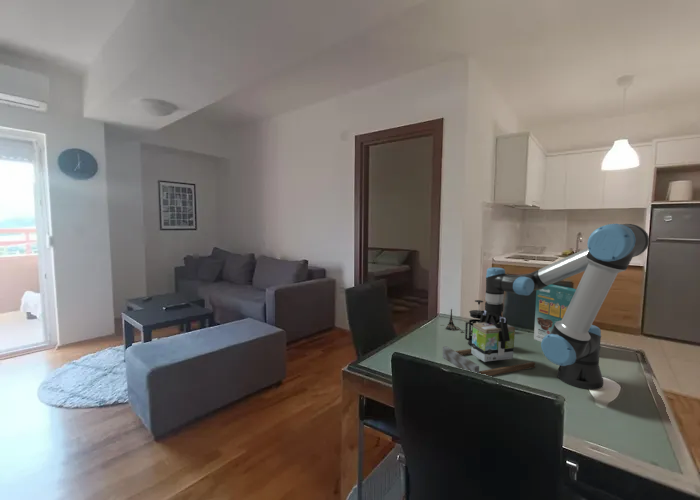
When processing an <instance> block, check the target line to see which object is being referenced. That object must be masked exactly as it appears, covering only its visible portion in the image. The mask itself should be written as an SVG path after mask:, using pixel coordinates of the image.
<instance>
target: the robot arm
mask: <svg viewBox="0 0 700 500" xmlns="http://www.w3.org/2000/svg"><path fill="white" fill-rule="evenodd" d="M649 244H650V236H649V234H648V232H647V231H646V230H645V229H644V228H642V227H641V226H639V225H637V224H634V223H633V224H632V223H610V224H609V223H608V224H605V225H602V226H600V227H598V228H596V229H594V230H593V231H592V232H591V233H590V235H589V237H588V239H587V245H586V246H587V247H586V248H584V249H582V250H580V251H578V252H576V253H575V252H574V253H573V254H570V255H569V256H567V257H564V258H562V259H559V260H558V261H555V262H553V263H550V264H548V265H546V266H544V267H541V268H539V269H537V270H535V271H532V272H530V273H524V274H518V275H515V274H508V273H506V269H505V268H502V267H496V266H495V267H494V266H493V267H492V266H491V267H488V268H486V275H485V297H484V299H485V300H484V301H485V303H484V310H481V318H480V319H479V320H480V321H479V323H484V322H485V323H491V322H492V323H493V324H494V326H495V327H496V328H498V329H499V328H501V330H502V331H499V339H500V340H499V341H498V356H502V355H504V349H505V343H506V341H510V338H509V332H508V326H507V324H508V318H507V317H504V316H503V312H504V301H505V300H504V298H505V295H504V294H505V292H507V293H511V294H514V295H515V294H516V295H519V296H530V295H531V294H532V293H533V291H536V290H540V289H543V288H545V287H546V286H548V285H550V284H553V285H554V284H555V283H558V282H561V281H563V280H566V279H568V278H571V277H573V276H576V275H578V274H581V273H582V276H581V278H580V281H579V283H578V285H577V287H576V288H575V289H576V291H575V293H574V295H573V298H572V300H571V302H570V304H569V306H568V308H567V310H566V312H565V315H564V317H563V319H562V320H561V321H557V322H556V323H555V325H554V327H553V329H552V331H551V333H550V334H548V335H546V336H545V337H544V338H543V339H542V342H540V347H541V351H542V352H543V355H544V357H545V358H546V359H547V360H548V361H549V362H551V363H553V364H555V365H556V366H557V365H558V366H559V367H558V369H557V373H556V374H557V378H558V379H559V380H561V382H564V383H565V384H568V385H570V386H573V387H576V388H580V389H585V390H599V389H601V388H603V387H604V377H603V375H602V371H601V368H600V352H601V342H602V341H601V340H602V334H601V333H602V330H601V328H600V327H598V325H597V326H596V325H594V324H593V323H594V321H595V319H596V317H597V315H598V313H599V311H600V309H601V308H602V305H603V303H604V301H605V300H606V298H607V295H608V293H609V291H610V289H611V288H612V285H613V284H614V282H615V280H616V278H617V277H618V274H619V273H622V272H625V271H627V269H628V267H629V265H630V263H631V261H632V259H633V258H635V257H638V256H640V255H641V254H643V253H644V252H645V251H646V250H647V249H648V247H649ZM501 313H502V315H501ZM497 323H499V324H497ZM502 338H503V339H502Z"/></svg>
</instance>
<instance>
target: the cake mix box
mask: <svg viewBox="0 0 700 500" xmlns="http://www.w3.org/2000/svg"><path fill="white" fill-rule="evenodd" d="M576 289H577V288H573V287H567V286H562V285H559V284H558V285H556V284H554V283H553V284H550V285H548V286H546V287H545V288H543V289H540V290H535V307H534V308H535V311H534V314H535V315H534V326H533V327H534V329H533V330H534V331H533V340H535V341H538V342H540V343H541V342H542V339H543V338H544V337H545V336H546V335H548V334H550V333H551V331H552V329H553V327H554V325H555V323H556V322H557V321H561V320H562V319H563V317H564V315H565V312H566V310H567V308H568V306H569V304H570V302H571V300H572V298H573V295H574V293H575V291H576Z"/></svg>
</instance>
